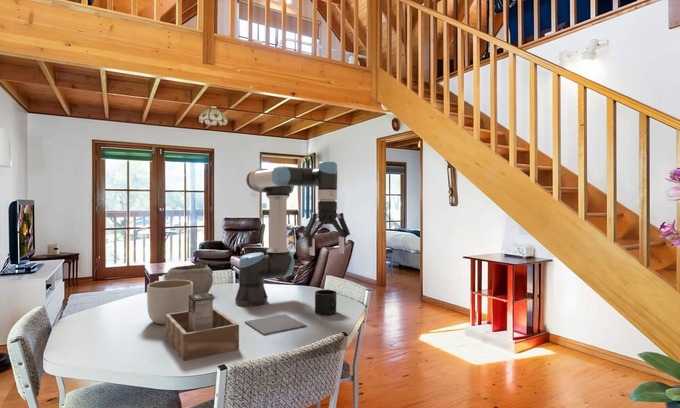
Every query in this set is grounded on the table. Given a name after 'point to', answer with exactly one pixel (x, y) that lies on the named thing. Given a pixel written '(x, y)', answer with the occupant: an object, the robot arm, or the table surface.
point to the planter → (168, 298)
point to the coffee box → (200, 312)
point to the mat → (274, 324)
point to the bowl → (193, 276)
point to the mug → (325, 302)
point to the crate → (201, 335)
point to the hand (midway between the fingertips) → (327, 254)
